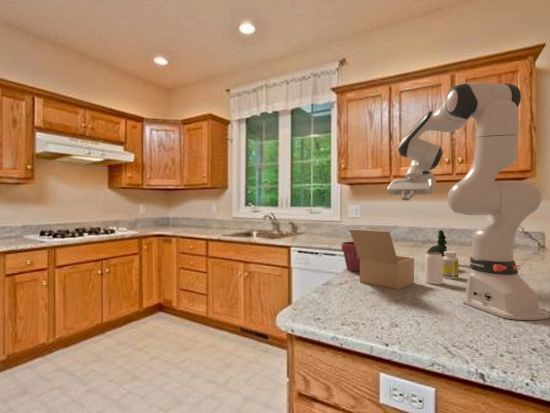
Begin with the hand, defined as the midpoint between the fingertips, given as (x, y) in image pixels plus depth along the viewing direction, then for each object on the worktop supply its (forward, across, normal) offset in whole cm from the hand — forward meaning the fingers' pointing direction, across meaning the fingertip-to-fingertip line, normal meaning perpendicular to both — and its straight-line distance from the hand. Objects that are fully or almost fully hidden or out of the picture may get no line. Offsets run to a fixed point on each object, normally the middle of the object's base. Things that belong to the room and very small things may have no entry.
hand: (405, 199), depth 141 cm
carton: (+36, 0, +11) cm, 38 cm away
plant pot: (+27, -22, +21) cm, 40 cm away
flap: (+32, 0, -8) cm, 33 cm away
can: (+27, +14, +21) cm, 37 cm away
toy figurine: (+2, +3, +46) cm, 46 cm away
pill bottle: (+17, +15, +31) cm, 38 cm away
